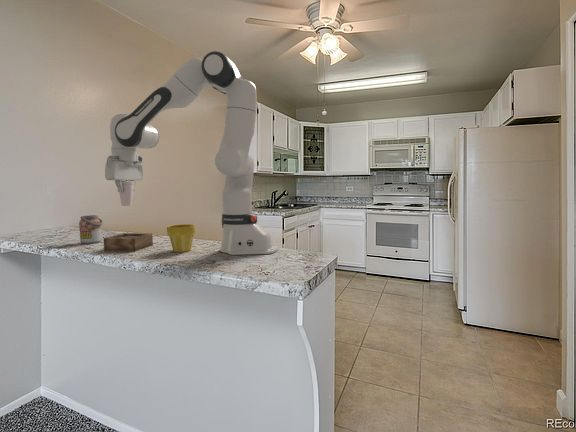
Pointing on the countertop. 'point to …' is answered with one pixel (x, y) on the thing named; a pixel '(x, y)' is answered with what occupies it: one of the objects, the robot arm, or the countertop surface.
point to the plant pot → (181, 236)
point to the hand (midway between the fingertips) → (126, 191)
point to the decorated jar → (90, 229)
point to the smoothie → (127, 193)
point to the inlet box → (128, 242)
